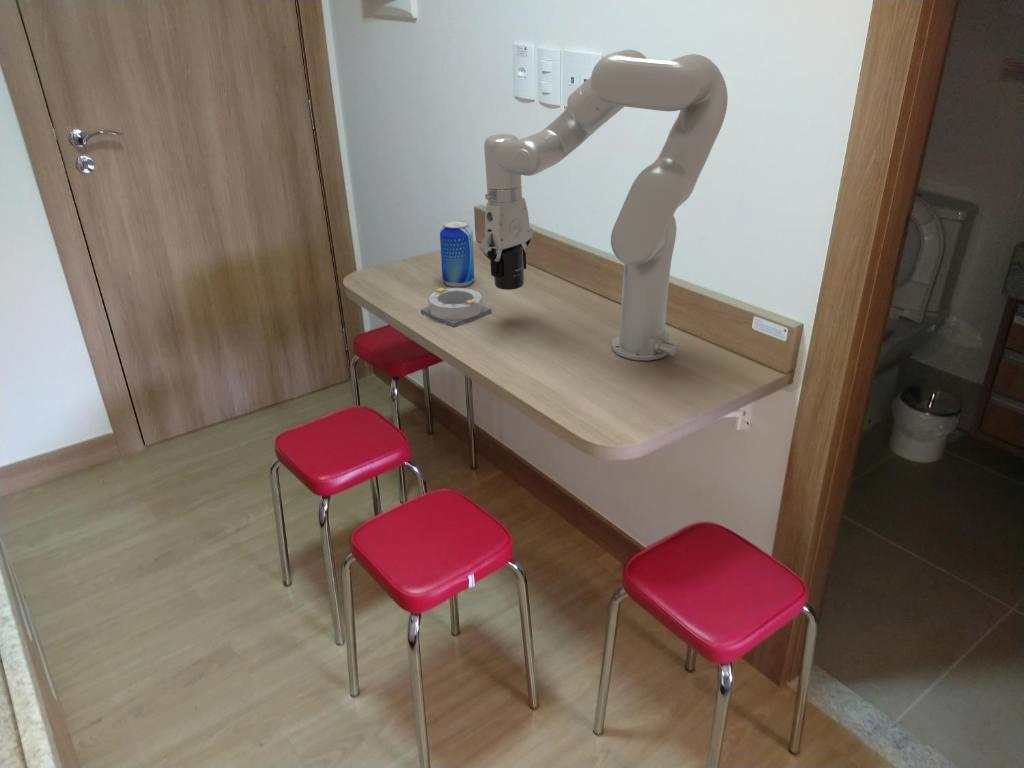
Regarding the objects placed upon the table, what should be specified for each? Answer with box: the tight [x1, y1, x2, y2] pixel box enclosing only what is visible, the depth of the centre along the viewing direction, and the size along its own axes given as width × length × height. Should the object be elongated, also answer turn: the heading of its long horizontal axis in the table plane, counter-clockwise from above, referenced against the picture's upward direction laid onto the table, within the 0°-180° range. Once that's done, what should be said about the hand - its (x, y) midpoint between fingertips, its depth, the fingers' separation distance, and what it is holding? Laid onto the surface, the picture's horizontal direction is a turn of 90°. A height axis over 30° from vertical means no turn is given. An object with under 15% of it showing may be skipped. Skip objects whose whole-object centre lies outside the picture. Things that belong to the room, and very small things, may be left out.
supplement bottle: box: [493, 245, 525, 291], centre depth 179 cm, size 7×7×12 cm
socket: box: [420, 287, 492, 328], centre depth 190 cm, size 12×12×5 cm
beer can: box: [439, 219, 475, 288], centre depth 206 cm, size 8×8×16 cm
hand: (508, 271), depth 181 cm, fingers closed on supplement bottle, 6 cm apart
